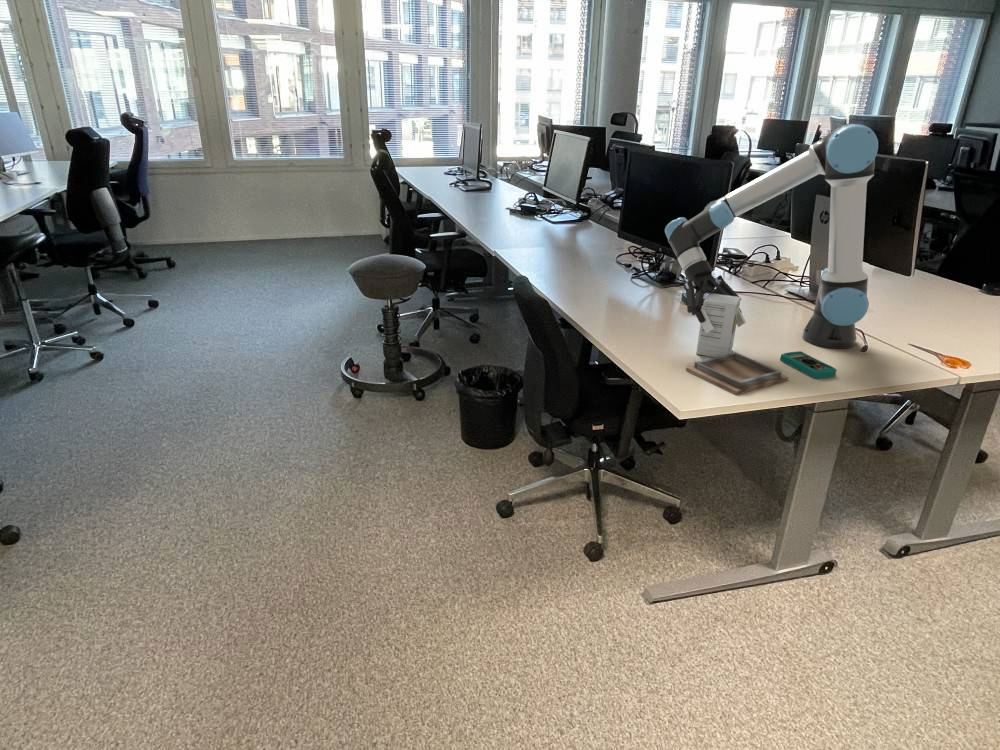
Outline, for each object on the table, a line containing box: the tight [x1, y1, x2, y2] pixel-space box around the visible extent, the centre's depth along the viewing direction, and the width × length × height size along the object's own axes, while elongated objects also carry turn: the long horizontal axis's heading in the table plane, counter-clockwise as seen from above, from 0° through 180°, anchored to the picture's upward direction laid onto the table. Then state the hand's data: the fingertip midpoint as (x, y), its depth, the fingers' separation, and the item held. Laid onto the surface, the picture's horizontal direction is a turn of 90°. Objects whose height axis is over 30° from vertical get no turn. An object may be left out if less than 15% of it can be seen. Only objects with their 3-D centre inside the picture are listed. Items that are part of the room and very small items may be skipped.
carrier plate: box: [685, 352, 790, 395], centre depth 174 cm, size 20×18×2 cm
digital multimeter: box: [779, 350, 837, 380], centre depth 180 cm, size 7×15×3 cm, turn 18°
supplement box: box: [696, 293, 742, 358], centre depth 187 cm, size 10×9×17 cm
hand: (726, 328), depth 185 cm, fingers closed on supplement box, 12 cm apart
